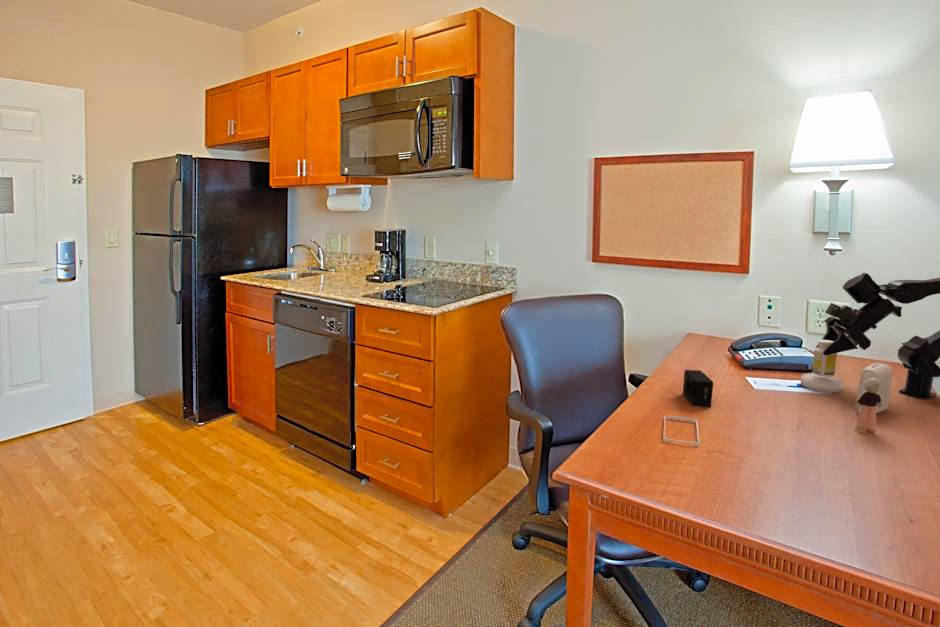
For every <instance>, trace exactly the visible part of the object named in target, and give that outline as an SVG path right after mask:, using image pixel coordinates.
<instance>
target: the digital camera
mask: <svg viewBox="0 0 940 627" xmlns="http://www.w3.org/2000/svg"><path fill="white" fill-rule="evenodd" d="M683 376H684V377H683V386H682V395H683V394H684V395H683V396H684V397H685V398H686V399H687V401H688V402H689V401H690V402H691V403H690V402H689V403H690V404H691V405H692V407H694V406H700V407H699V408H712V401H713V391H714V390H713V389H714V388H713V387H714V382H713V380H711V379H710V378H709V376H707V375H706V373H704V372H703V371H701V370H700V369H699V370H697V369H695V370H694V369H685V370H684V374H683Z"/></svg>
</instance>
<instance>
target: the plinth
mask: <svg viewBox="0 0 940 627" xmlns="http://www.w3.org/2000/svg"><path fill="white" fill-rule="evenodd" d="M800 385H801V386H802V387H803V386H804V387H803V388H805V387H806V388H805V389H808V388H810V389H809V390H811V389H813V391H816V390H817V392H821V391H823V393H839V392H842V386H843V379H841V378H839V377H837V376H832V377H824V376H818V375H815V374H813V372H811V373H807V372H806V373H803V374H801V378H800Z"/></svg>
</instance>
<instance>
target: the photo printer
mask: <svg viewBox="0 0 940 627" xmlns="http://www.w3.org/2000/svg"><path fill="white" fill-rule="evenodd" d="M893 374H894V373H893V369H892V368H891V366H890V365H888V364H886V363H882V362H875V363H872V364H870V365H868V366H866V367H865V368H864V369H863V370H861V373H860V377H859V382H858V388H857V389H858V391H857V395H856V403H857V401H858V400H859V398H860V397H861V396H862V395H863V394H864V393H865V392H867V391H866V388H865V387H864V381H865V380H866V379H869V378H875V379H878V380H879V381H880V382H881V386H880V387H879V391H878V392H877V394H878V395H879V396H880V398H881V404H882V407H877V404H876V414H878V413H881V412H884V411H886V410H887V408H888V405H889V404H888V403H889V398H890V392H891V387H892V386H891V385H892V380H893ZM856 403H855V404H856ZM861 409H862V405H861V407H860V408H859V410H858V411H856V412H857V413H858V414H859V413H860V411H861Z"/></svg>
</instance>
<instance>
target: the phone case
mask: <svg viewBox="0 0 940 627" xmlns="http://www.w3.org/2000/svg"><path fill="white" fill-rule="evenodd" d="M663 417H664V418H663V438H662V441H663V442H664V443H666V442H669V443H670V442H675V443H676V442H677V443H685V444H692V446H693V445H694V446H693V447H695V446H698V447H700V436H699V424H698V420H697V419H696V418H692V417H691V418H690V417H682V416H681V417H680V416H676V415H674V416H672V415H664V416H663ZM670 419H673V420H672V421H678V420H680V422H686V421H689V422H688V423H693V422H695V423H696V424H695V423H694V424H695V426H696V428H695V429H696V431H697V432H696V439H697V441H698V442H695V441H687V440H680V439H674V438H667V437H666V436H665V435H666V421H667V420H670Z"/></svg>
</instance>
